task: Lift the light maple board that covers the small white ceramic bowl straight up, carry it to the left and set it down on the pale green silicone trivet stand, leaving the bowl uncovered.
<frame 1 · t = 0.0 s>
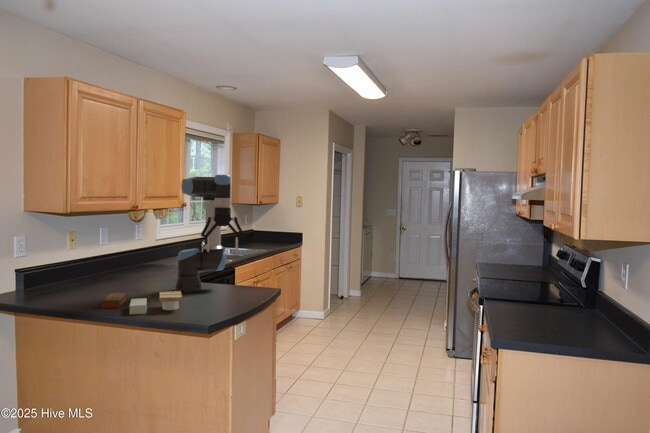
hand: (222, 251, 238), 28 cm above the countertop, fingers open, 13 cm apart
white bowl: (170, 308, 238), on the countertop
carton: (114, 305, 246), on the countertop
green stand: (138, 310, 234), on the countertop
maple board: (170, 298, 238), point 5 cm above the countertop, touching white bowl
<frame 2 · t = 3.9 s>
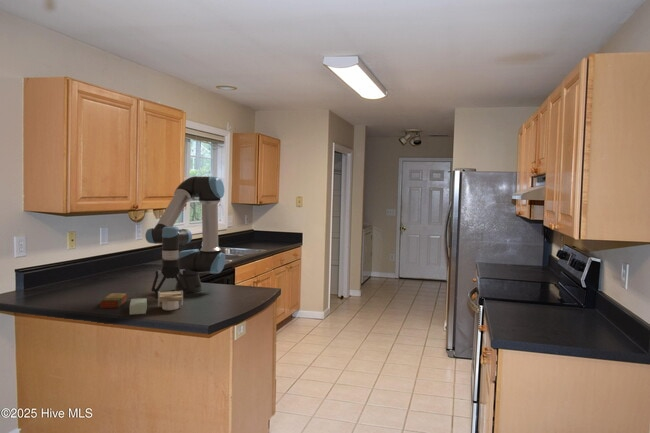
hand: (170, 304, 238), 2 cm above the countertop, fingers closed on maple board, 10 cm apart
maple board: (170, 298, 238), point 5 cm above the countertop, touching gripper, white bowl
everything else where it was.
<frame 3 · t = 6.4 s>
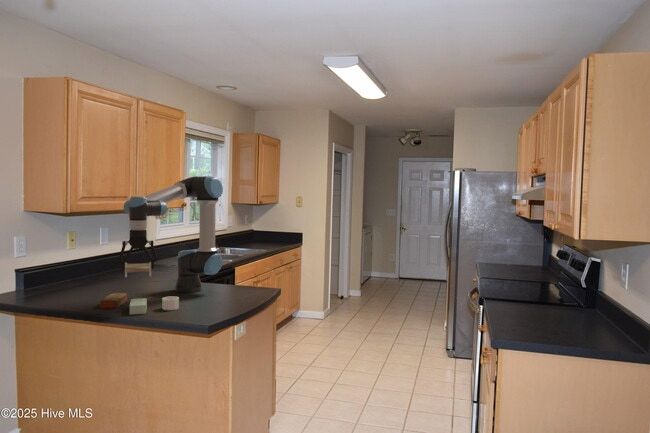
hand: (138, 276, 233), 16 cm above the countertop, fingers closed on maple board, 10 cm apart
maple board: (138, 269, 233), point 19 cm above the countertop, touching gripper
everything else where it was.
when the fingers open (3 cm above the countertop, at t = 9.3 s): maple board drops 2 cm, resting on green stand.
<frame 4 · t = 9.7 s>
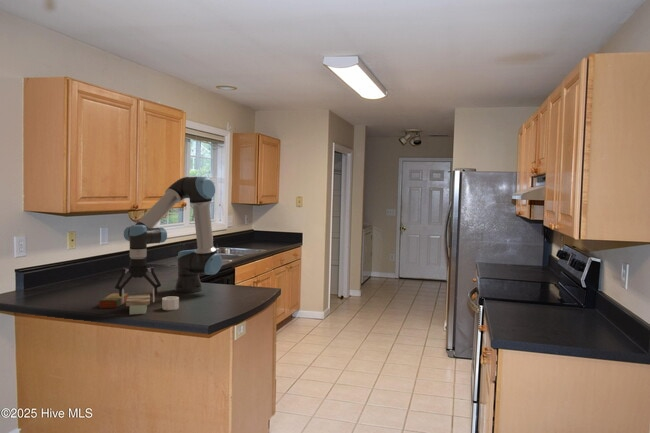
hand: (138, 302, 234), 4 cm above the countertop, fingers open, 13 cm apart
maple board: (138, 301, 234), point 4 cm above the countertop, touching green stand
everything else where it was.
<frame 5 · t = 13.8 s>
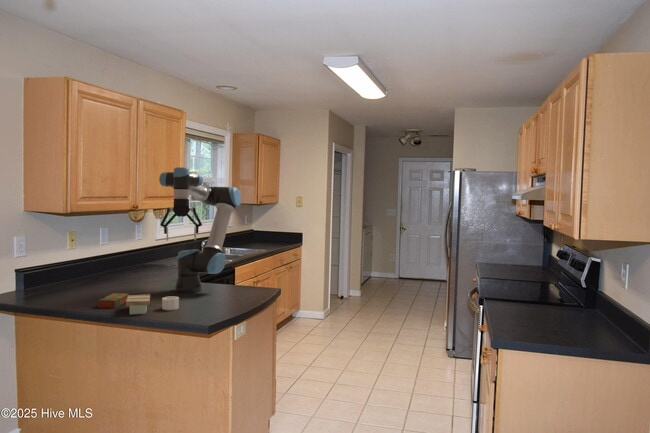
hand: (181, 240, 250), 32 cm above the countertop, fingers open, 13 cm apart
at the end: maple board inside the target area on the green stand (0.0 cm from its centre), point 4.0 cm above the green stand's base; maple board tilted 0°; maple board touching green stand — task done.
